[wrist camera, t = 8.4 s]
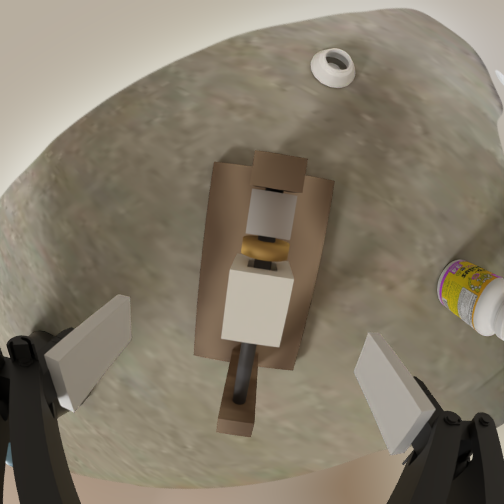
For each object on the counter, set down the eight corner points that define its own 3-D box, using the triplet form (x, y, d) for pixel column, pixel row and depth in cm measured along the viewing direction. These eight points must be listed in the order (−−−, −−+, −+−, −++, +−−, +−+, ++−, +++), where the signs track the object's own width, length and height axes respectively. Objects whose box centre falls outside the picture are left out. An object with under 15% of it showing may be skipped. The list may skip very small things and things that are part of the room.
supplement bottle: (472, 257, 28) (536, 286, 15) (464, 303, 29) (519, 343, 17) (439, 258, 28) (507, 292, 15) (430, 307, 29) (487, 355, 17)
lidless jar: (303, 77, 25) (345, 96, 25) (307, 66, 22) (353, 87, 22) (318, 46, 24) (358, 64, 24) (323, 34, 21) (366, 54, 21)
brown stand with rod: (196, 348, 32) (166, 420, 20) (216, 163, 27) (179, 142, 15) (291, 363, 32) (301, 440, 19) (331, 181, 27) (379, 175, 14)
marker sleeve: (229, 311, 22) (221, 338, 18) (237, 253, 21) (229, 269, 17) (277, 319, 22) (279, 347, 18) (288, 261, 21) (294, 279, 17)
